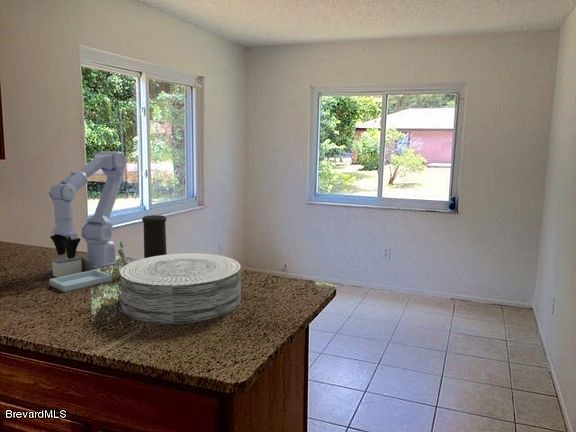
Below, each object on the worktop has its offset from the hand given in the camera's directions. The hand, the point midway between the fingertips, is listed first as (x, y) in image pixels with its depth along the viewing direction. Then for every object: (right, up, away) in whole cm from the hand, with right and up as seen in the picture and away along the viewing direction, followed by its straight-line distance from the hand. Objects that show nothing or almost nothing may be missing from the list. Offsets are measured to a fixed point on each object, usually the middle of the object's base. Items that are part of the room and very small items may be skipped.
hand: (66, 256), depth 165 cm
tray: (+9, -8, -9) cm, 15 cm away
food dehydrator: (+45, -12, -24) cm, 52 cm away
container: (+29, -6, +10) cm, 31 cm away
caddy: (0, -7, +1) cm, 7 cm away
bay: (0, -6, +1) cm, 7 cm away
